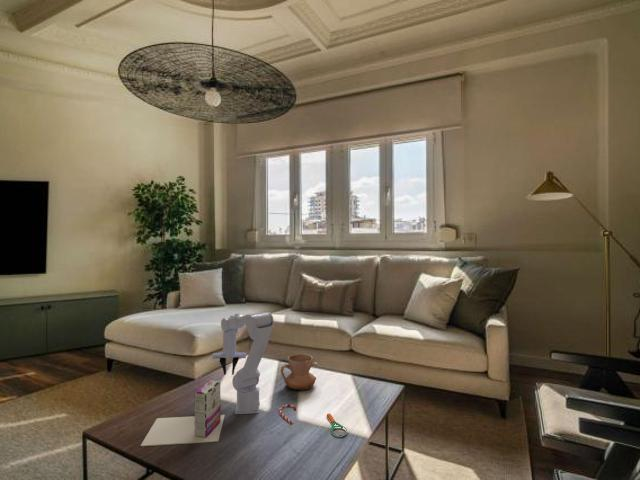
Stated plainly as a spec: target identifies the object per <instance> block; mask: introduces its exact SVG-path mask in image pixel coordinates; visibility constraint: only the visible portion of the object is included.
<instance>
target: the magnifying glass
mask: <svg viewBox="0 0 640 480" xmlns="http://www.w3.org/2000/svg"><path fill="white" fill-rule="evenodd" d="M326 417H327V419H328V418H329V419H328V420H330V421H331V423H332V424H331V423H330V424H331V427H330V433H331V432H332V433H333V432H334V430H333V429H334V428H335V427H341V428H343V427H344V428H345V429H346V431H347V432H346V433H347V434H348V429H347V428H346V427H345V426H343V425H342V424H340V423H339V422H337V421H336V420H335V418H334V417H333V415H332V414H331V413H327V414H326ZM330 421H329V422H330ZM335 424H336V425H338V426H334V425H335ZM332 430H333V431H332ZM333 434H335V435H336V434H337V433H335V432H334V433H333ZM343 434H344V433H343ZM338 435H339V436H342V435H341V434H338ZM344 435H345V434H344Z"/></svg>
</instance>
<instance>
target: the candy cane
mask: <svg viewBox="0 0 640 480" xmlns="http://www.w3.org/2000/svg"><path fill="white" fill-rule="evenodd" d="M292 407H293V408H294V409H293V408H292ZM285 408H292V409H293V410H294V411H297V407H296V406H295V405H294V404H283V405H281V406H280V407H279V409H278V414H279V416H280V417H281V418H282V419H283V420H284V421H285V420H286V421H285V422H287V423H288V424H289V425H291V424H292V425H293V424H294V422H293V421H292V420H290V419H289V418H288V417H287V416H286V414H284V413H283V411H282V410H284V409H285Z"/></svg>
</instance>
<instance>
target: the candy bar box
mask: <svg viewBox="0 0 640 480" xmlns="http://www.w3.org/2000/svg"><path fill="white" fill-rule="evenodd" d="M193 396H194V416H195V436H197V437H205V438H206V437H207V436H208V435H209V434H210V433H211V432H212V431H213V429H214V428H215V427H216V426H217V425H218V424H219V423H220V422H221V421H220V415H221V380H216V379H209V380H207V381H206V382H205V383H204V384H203V385H201V387H199V388H197V390H195V391H194V395H193Z"/></svg>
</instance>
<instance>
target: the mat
mask: <svg viewBox="0 0 640 480" xmlns="http://www.w3.org/2000/svg"><path fill="white" fill-rule="evenodd" d="M224 420H225V414H220V421H221V422H220V423H219V424H218V425H217V426H216V427H215V428H214V429H213V431H212V432H211V433H210V434H209V435H208V436H207V437H206V438H205V437H197V436H195V415H193V416H192V415H191V416H177V417H176V416H175V417H172V416H171V417H158V418H156V419H155V421H154V422H153V424H152V426H151V427H150V430H149V431H148V433H147V434H146V436H145V438H144V439H143V441H142V442H141V444H140V447H153V446H155V447H156V446H169V445H170V446H171V445H187V444H201V443H214V442H215V443H216V442H219V440H220V437H221V436H220V435H221V432H222V429H223V428H222V427H223V424H224Z"/></svg>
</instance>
